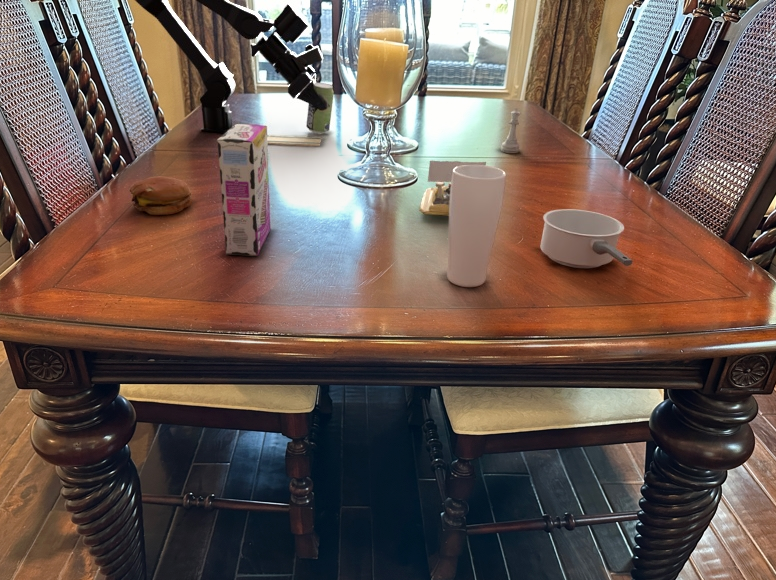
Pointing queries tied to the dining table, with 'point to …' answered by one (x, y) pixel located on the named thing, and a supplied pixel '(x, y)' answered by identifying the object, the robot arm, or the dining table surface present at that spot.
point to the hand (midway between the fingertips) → (325, 106)
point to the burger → (161, 195)
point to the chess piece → (512, 135)
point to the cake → (440, 187)
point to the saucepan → (582, 238)
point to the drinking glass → (473, 221)
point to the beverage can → (318, 117)
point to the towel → (293, 140)
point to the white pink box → (245, 188)
